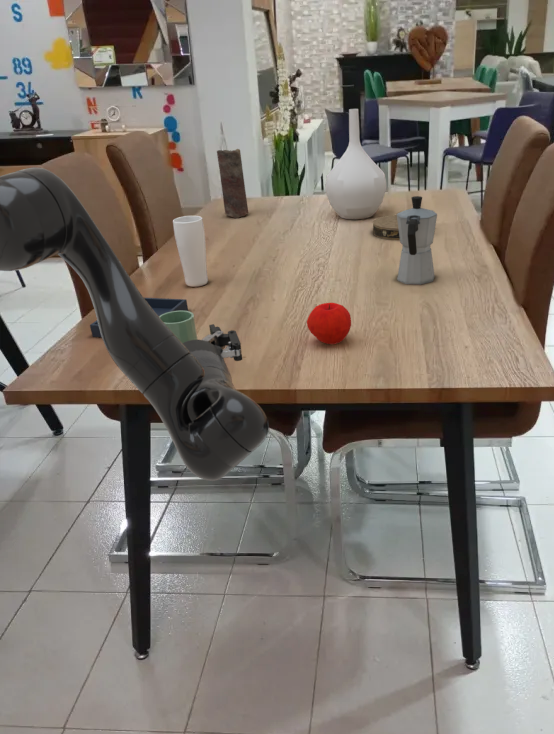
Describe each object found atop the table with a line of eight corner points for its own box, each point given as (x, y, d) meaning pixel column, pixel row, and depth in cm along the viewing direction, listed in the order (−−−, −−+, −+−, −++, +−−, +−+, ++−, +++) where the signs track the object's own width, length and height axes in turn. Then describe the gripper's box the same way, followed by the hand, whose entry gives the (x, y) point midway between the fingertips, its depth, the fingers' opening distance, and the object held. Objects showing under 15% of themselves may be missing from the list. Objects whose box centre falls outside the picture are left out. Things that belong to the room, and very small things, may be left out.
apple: (302, 348, 125) (299, 310, 122) (317, 332, 132) (315, 295, 128) (344, 352, 123) (342, 313, 119) (357, 335, 129) (356, 297, 126)
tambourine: (441, 234, 188) (441, 223, 186) (388, 242, 183) (388, 231, 182) (413, 222, 201) (413, 211, 199) (363, 230, 196) (363, 219, 195)
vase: (381, 207, 219) (380, 104, 205) (391, 220, 204) (390, 110, 189) (324, 211, 219) (319, 108, 204) (329, 225, 203) (324, 114, 188)
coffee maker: (400, 269, 163) (401, 190, 154) (438, 270, 160) (440, 190, 152) (390, 290, 150) (389, 205, 141) (430, 291, 148) (433, 205, 139)
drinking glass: (180, 289, 159) (170, 223, 151) (184, 280, 165) (174, 216, 157) (210, 287, 159) (200, 221, 151) (212, 278, 165) (204, 214, 157)
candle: (220, 216, 220) (211, 150, 210) (236, 211, 225) (229, 146, 215) (236, 219, 216) (229, 151, 206) (253, 214, 221) (246, 147, 211)
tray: (152, 340, 133) (150, 328, 132) (92, 336, 136) (89, 324, 135) (188, 310, 146) (186, 299, 145) (132, 307, 150) (130, 296, 148)
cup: (193, 380, 116) (184, 324, 111) (161, 377, 118) (150, 322, 113) (207, 365, 121) (199, 311, 116) (176, 362, 123) (167, 309, 118)
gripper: (250, 342, 91) (227, 304, 105) (141, 361, 88) (131, 319, 101) (256, 392, 95) (233, 349, 108) (151, 412, 92) (141, 365, 105)
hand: (184, 334), depth 105 cm, fingers open, 8 cm apart
